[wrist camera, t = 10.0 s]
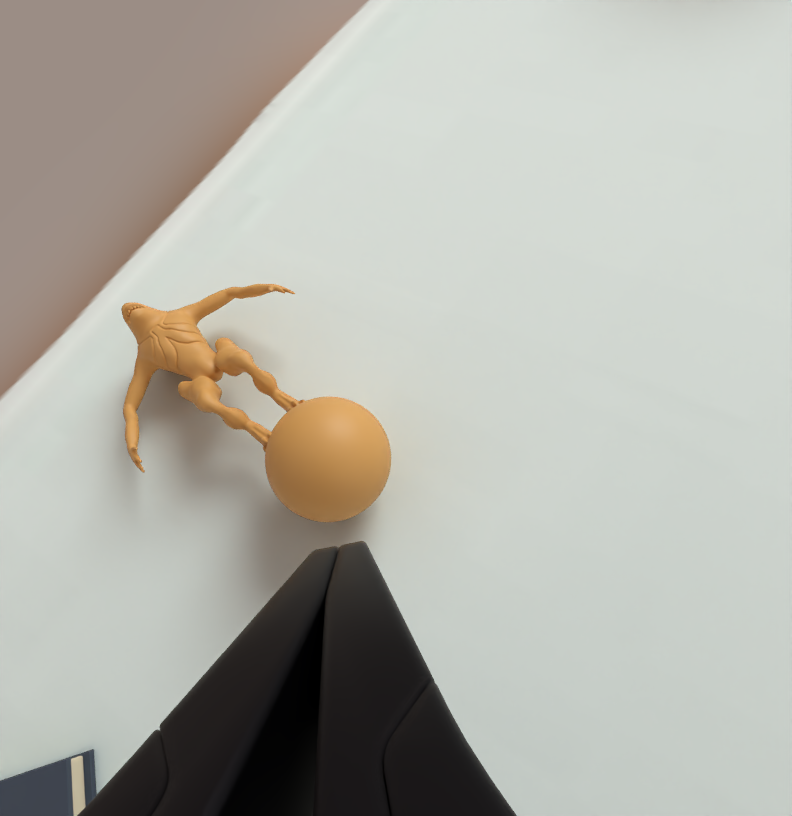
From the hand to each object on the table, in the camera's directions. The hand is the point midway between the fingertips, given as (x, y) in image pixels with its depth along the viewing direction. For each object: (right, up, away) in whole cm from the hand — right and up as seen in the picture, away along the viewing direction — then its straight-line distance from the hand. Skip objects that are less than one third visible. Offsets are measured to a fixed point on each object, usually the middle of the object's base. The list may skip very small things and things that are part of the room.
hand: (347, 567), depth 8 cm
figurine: (0, -1, +9) cm, 9 cm away
